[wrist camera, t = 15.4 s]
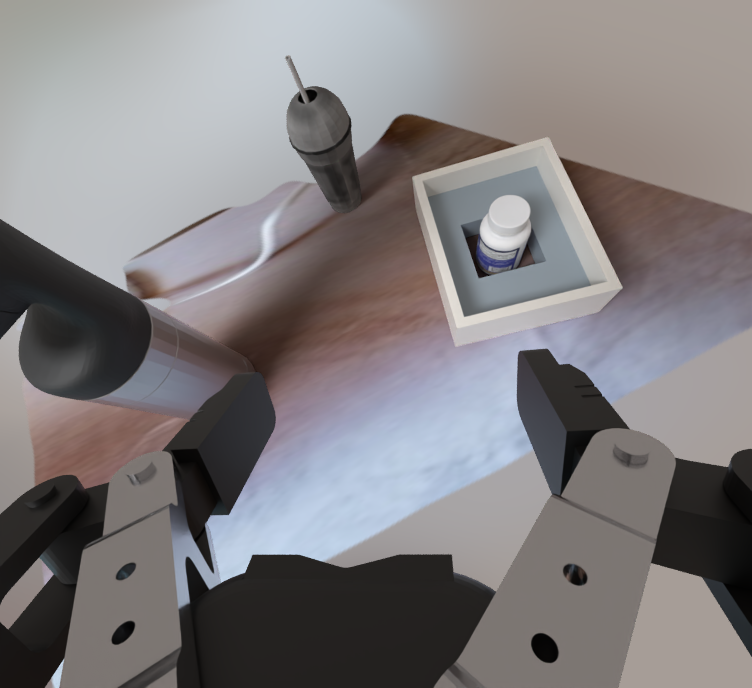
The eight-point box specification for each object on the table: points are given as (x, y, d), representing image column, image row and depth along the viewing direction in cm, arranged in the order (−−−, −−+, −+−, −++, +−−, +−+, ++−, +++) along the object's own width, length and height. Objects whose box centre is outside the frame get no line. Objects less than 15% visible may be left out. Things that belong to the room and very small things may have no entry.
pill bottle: (492, 232, 46) (504, 180, 37) (528, 253, 44) (549, 204, 36) (466, 262, 45) (471, 216, 37) (502, 285, 43) (516, 242, 35)
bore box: (455, 346, 42) (456, 328, 36) (415, 209, 49) (412, 176, 43) (597, 312, 40) (622, 287, 35) (536, 175, 47) (548, 136, 41)
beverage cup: (372, 176, 52) (332, 14, 33) (369, 219, 50) (323, 71, 31) (324, 180, 53) (258, 27, 34) (318, 222, 51) (245, 82, 32)
